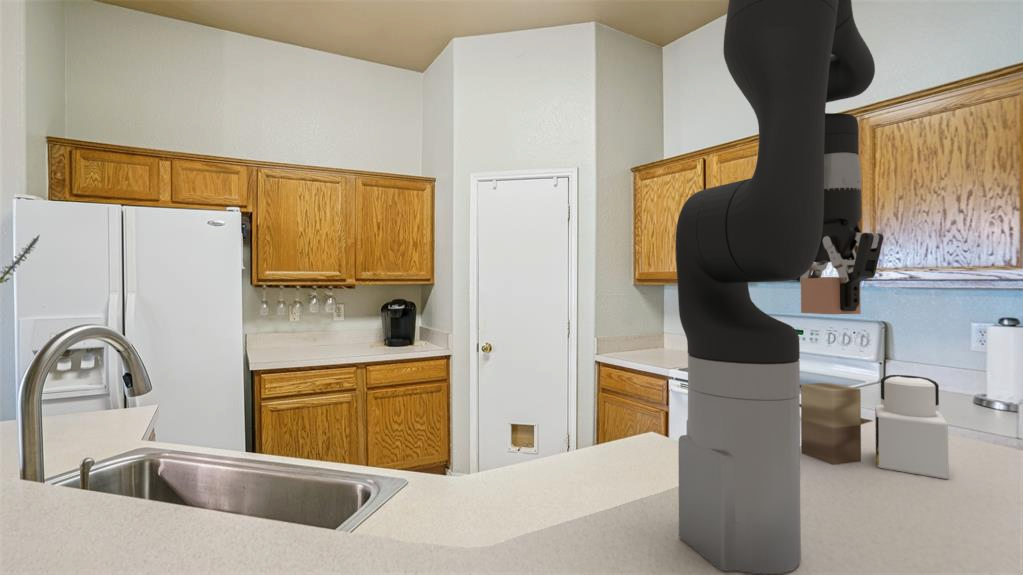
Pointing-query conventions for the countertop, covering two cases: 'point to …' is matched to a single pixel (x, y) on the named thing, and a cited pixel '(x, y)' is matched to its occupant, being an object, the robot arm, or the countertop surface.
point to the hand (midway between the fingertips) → (829, 309)
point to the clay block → (823, 296)
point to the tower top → (831, 404)
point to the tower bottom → (831, 442)
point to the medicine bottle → (911, 427)
